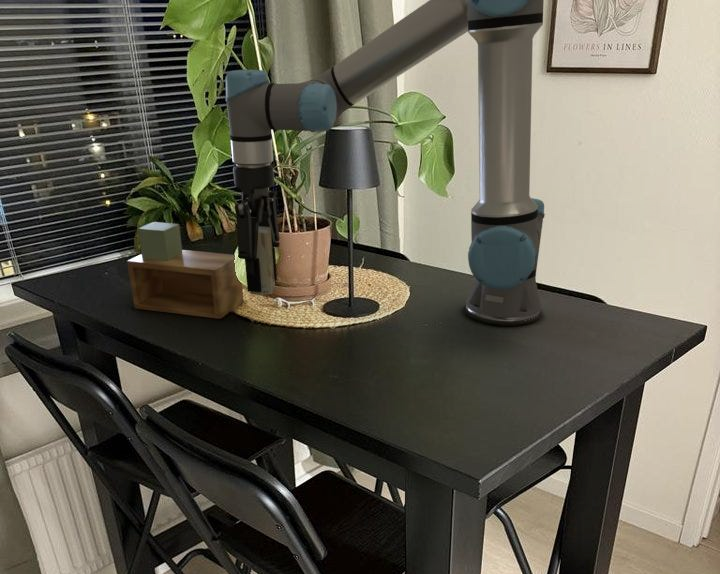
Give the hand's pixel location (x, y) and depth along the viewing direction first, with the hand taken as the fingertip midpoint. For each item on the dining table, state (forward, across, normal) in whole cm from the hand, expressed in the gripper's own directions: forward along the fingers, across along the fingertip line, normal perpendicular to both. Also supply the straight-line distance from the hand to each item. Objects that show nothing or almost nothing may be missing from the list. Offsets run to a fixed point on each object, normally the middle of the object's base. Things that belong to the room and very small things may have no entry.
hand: (262, 285), depth 153 cm
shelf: (+6, 0, -17) cm, 18 cm away
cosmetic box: (+1, 0, 0) cm, 1 cm away
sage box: (-4, 0, -22) cm, 23 cm away
